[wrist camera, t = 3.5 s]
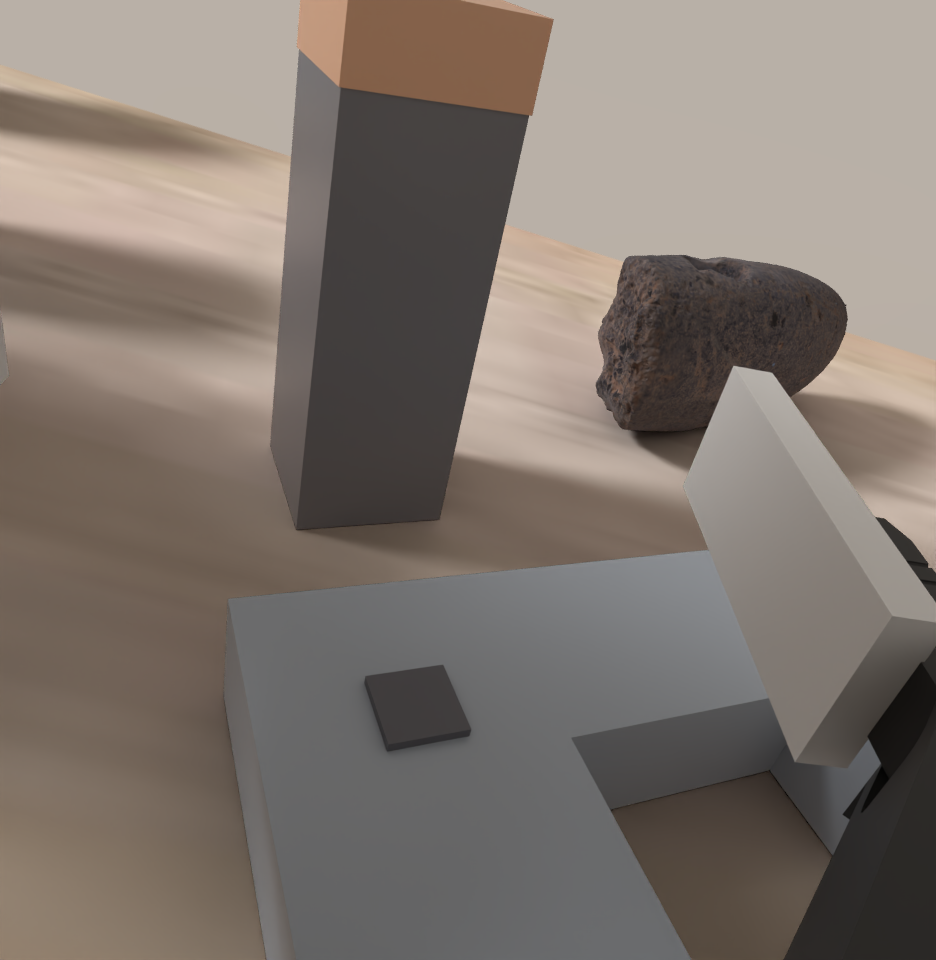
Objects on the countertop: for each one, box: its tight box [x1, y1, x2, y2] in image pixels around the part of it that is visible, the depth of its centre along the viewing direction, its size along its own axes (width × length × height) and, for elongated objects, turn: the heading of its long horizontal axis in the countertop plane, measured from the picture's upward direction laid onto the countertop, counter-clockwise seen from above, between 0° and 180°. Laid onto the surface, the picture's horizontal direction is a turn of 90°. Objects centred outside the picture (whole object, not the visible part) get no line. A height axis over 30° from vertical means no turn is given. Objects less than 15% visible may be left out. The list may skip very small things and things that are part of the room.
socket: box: [224, 550, 881, 960], centre depth 15 cm, size 18×16×3 cm
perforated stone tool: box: [596, 255, 848, 431], centre depth 34 cm, size 15×5×7 cm, turn 121°
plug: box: [270, 0, 553, 530], centre depth 22 cm, size 5×5×14 cm
